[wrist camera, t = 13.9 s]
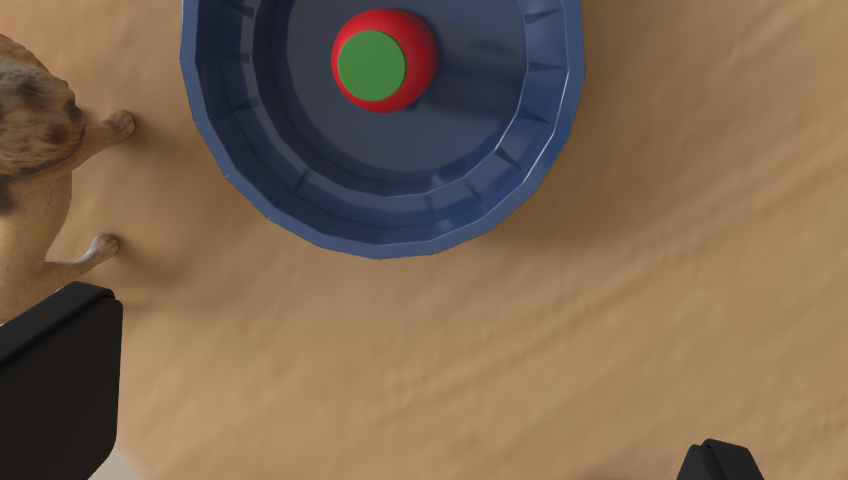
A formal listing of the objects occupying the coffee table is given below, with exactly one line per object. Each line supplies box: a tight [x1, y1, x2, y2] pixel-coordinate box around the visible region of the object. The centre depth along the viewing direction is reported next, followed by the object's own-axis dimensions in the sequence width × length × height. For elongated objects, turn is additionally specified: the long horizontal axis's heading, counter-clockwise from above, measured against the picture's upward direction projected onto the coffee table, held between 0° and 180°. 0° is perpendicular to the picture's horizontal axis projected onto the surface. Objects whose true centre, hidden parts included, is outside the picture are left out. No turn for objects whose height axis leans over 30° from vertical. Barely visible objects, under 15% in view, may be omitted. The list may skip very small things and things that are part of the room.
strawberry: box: [331, 8, 438, 113], centre depth 26 cm, size 4×4×5 cm
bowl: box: [180, 0, 585, 259], centre depth 26 cm, size 14×14×5 cm
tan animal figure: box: [0, 34, 135, 324], centre depth 28 cm, size 15×5×9 cm, turn 170°
